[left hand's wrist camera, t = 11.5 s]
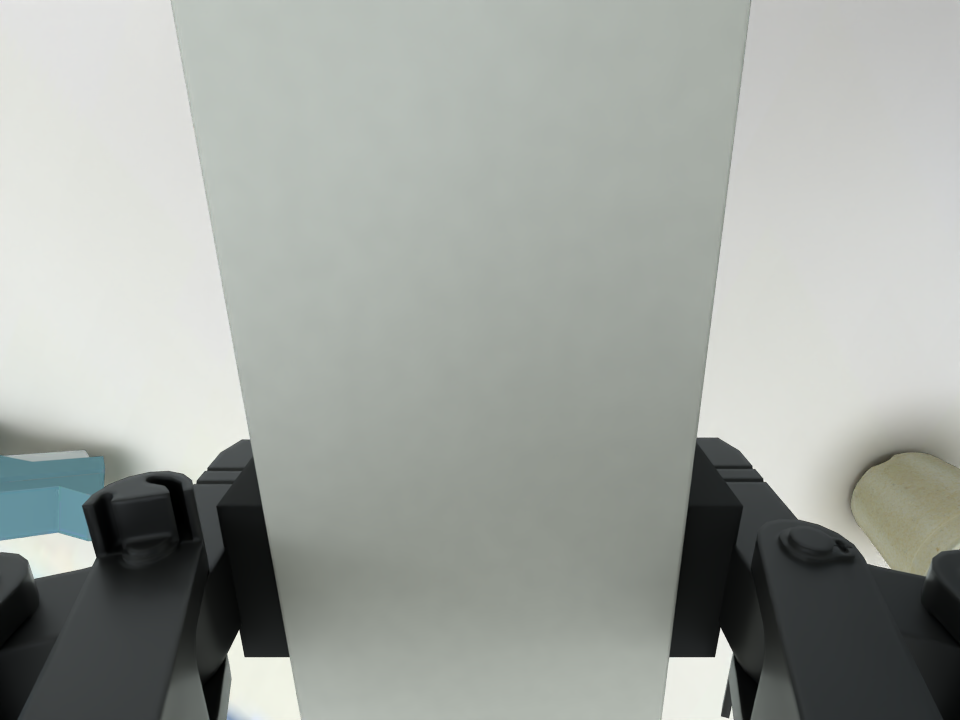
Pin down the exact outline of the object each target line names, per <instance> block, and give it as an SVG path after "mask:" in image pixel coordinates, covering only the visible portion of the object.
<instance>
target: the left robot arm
mask: <svg viewBox="0 0 960 720" xmlns="http://www.w3.org/2000/svg"><path fill="white" fill-rule="evenodd" d="M207 469H208V470H207V471H205V472H204V473H203V474H202V475H201V476H200V478H199V479H198V480H197V484H194V485H193V483H192V480H191V479H190V478H188V477H187V476H186V475H184V474H181V473H176V472H171V471H160V472H148V473H143V474H139V475H134V476H129V477H127V478H124V479H122V480H119V481H116V482H114V483H111V484H109V485H107V486H105V487H104V488H102V489H101V490H99V491H97V492H96V493H94V494H92V495H91V496H90V497H89V499H88V500H87V501H86V502H85V503H84V504H83V505H82V508H83V512H84V515H85V519H86V522H87V526H88V529H89V533H90V536H91V540H92V543H93V547H94V550H95V554H96V557H97V558H96V560H95V562H94V564H93V566H92V567H89V568H85V569H81V570H76V571H71V572H66V573H61V574H56V575H51V576H46V577H41V578H37V579H34V577H33V574H32V571H31V568H30V565H29V563H28V560H26V559H25V558H24V557H22V556H21V555H19V554H14V553H4V552H1V553H0V720H226V719H227V710H228V702H229V694H230V686H231V672H230V666H229V661H228V656H227V653H228V651H229V649H230V647H231V645H232V643H233V641H234V639H235V637H236V635H237V633H238V631H239V630H240V635H241V640H242V646H243V651H244V656H245V657H290V655H289V650H288V644H287V639H286V633H285V628H284V622H283V617H282V611H281V606H280V600H279V595H278V589H277V584H276V578H275V573H274V567H273V562H272V556H271V551H270V545H269V540H268V534H267V529H266V523H265V517H264V512H263V506H262V501H261V495H260V490H259V484H258V479H257V473H256V468H255V462H254V457H253V451H252V446H251V440H241V441H239V442H237V443H236V444H234V445H232V446H231V447H229V448H227V449H226V450H224V451H222V452H221V453H220V454H219V455H218V456H217V457H216V459H215V460H214V461H213V462H212V463H211V465H210V466H209V467H208V468H207ZM720 627H721V629H722V631H723V633H724V635H725V637H726V639H727V641H728V643H729V645H730V647H731V649H732V651H733V656H732V661H731V666H730V671H729V675H728V680H727V685H726V690H725V695H724V700H723V706H722V713H721V716H722V717H726V718H729V716H730V711H731V706H732V709H733V717H734V720H960V550H949V551H941V552H940V553H939V554H937V555H936V556H934V557H933V558H932V561H931V564H930V567H929V570H928V573H927V576H922V575H917V574H912V573H907V572H902V571H897V570H892V569H887V568H882V567H877V566H874V565H870V564H867V563H866V561H865V559H864V557H863V556H862V554H861V553H860V552H859V550H858V549H857V548H856V547H855V545H854V544H852V543H851V542H849V541H848V540H847V539H845V538H844V537H842V536H841V535H840V534H838V533H836V532H834V531H832V530H829V529H827V528H825V527H823V526H820V525H818V524H814V523H810V522H806V521H802V520H798V519H797V518H796V517H795V516H794V514H793V513H792V512H791V511H790V510H789V508H788V507H787V506H786V505H785V504H784V503H783V501H782V500H781V499H780V498H779V497H778V496H777V494H776V493H775V492H774V491H773V490H772V488H771V487H770V486H769V485H768V484H767V483H766V482H763V478H762V477H761V476H760V474H759V473H758V472H757V471H756V470H755V469H753V468H752V465H751V464H750V463H749V461H748V460H747V459H746V458H745V457H744V456H743V454H742V453H741V452H740V451H739V450H737V449H736V448H734V447H732V446H731V445H729V444H727V443H726V442H724V441H722V440H721V439H719V438H696V446H695V454H694V462H693V470H692V478H691V486H690V494H689V502H688V510H687V518H686V526H685V534H684V542H683V550H682V558H681V566H680V574H679V582H678V590H677V598H676V606H675V614H674V622H673V630H672V638H671V646H670V654H669V657H715V654H716V649H717V643H718V638H719V633H720Z"/></svg>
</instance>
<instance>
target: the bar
mask: <svg viewBox="0 0 960 720" xmlns="http://www.w3.org/2000/svg"><path fill="white" fill-rule="evenodd" d="M171 5H172V10H173V16H174V21H175V27H176V32H177V38H178V43H179V49H180V54H181V60H182V65H183V71H184V76H185V82H186V87H187V93H188V98H189V104H190V109H191V115H192V120H193V126H194V131H195V137H196V142H197V148H198V153H199V159H200V164H201V170H202V175H203V181H204V187H205V192H206V198H207V203H208V209H209V214H210V220H211V225H212V231H213V236H214V242H215V247H216V253H217V258H218V264H219V269H220V275H221V280H222V286H223V291H224V297H225V302H226V308H227V313H228V319H229V324H230V330H231V335H232V341H233V346H234V352H235V358H236V363H237V369H238V374H239V380H240V385H241V391H242V396H243V402H244V407H245V413H246V418H247V424H248V429H249V435H250V440H251V446H252V451H253V457H254V462H255V468H256V473H257V479H258V484H259V490H260V495H261V501H262V506H263V512H264V517H265V523H266V529H267V534H268V540H269V545H270V551H271V556H272V562H273V567H274V573H275V578H276V584H277V589H278V595H279V600H280V606H281V611H282V617H283V622H284V628H285V633H286V639H287V644H288V650H289V655H290V661H291V666H292V672H293V677H294V683H295V688H296V694H297V699H298V705H299V711H300V716H301V720H661V718H662V710H663V702H664V694H665V686H666V678H667V670H668V662H669V654H670V646H671V638H672V630H673V622H674V614H675V606H676V598H677V590H678V582H679V574H680V566H681V558H682V550H683V542H684V534H685V526H686V518H687V510H688V502H689V494H690V486H691V478H692V470H693V462H694V454H695V446H696V438H697V430H698V422H699V414H700V406H701V398H702V390H703V382H704V374H705V366H706V358H707V350H708V342H709V334H710V326H711V318H712V310H713V302H714V294H715V286H716V278H717V270H718V262H719V254H720V246H721V238H722V230H723V222H724V214H725V206H726V198H727V190H728V182H729V174H730V166H731V158H732V150H733V142H734V134H735V126H736V118H737V110H738V102H739V94H740V86H741V78H742V70H743V62H744V54H745V46H746V38H747V30H748V22H749V14H750V6H751V0H171Z"/></svg>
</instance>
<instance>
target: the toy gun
mask: <svg viewBox="0 0 960 720" xmlns="http://www.w3.org/2000/svg"><path fill="white" fill-rule="evenodd" d="M104 476H105V465H104V458H103V456H98V457H89V455H88V454H87V452H86V450H77V451H63V452H49V453H35V454H21V455H7V456H1V455H0V541H1V540H8V539H15V538H22V537H29V536H36V535H44V534H51V533H62V534H65V535H69V536H72V537H76V538H79V539H83V540H86V541H92V540H91V536H90V533H89V529H88V526H87V522H86V519H85V515H84V512H83V508H82V505H83V504H84V503H85V502H86V501H87V500H88V499H89V497H90V496H91V495H92V494H94V493H96V492H97V491H99V490H101V489H102V488H104Z"/></svg>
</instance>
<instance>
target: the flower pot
mask: <svg viewBox="0 0 960 720" xmlns="http://www.w3.org/2000/svg"><path fill="white" fill-rule="evenodd" d="M851 510H852V513H853V515H854V518H855V520H856V522H857V524H858V525H859V527H860V528H861V529H862V530H863V531H864V533H865V534H866V535H867V537H868V538H869V539H870V541H871V542H872V543H873V545H874V546H875V547H876V549H877V550H878V551H879V553H880V554H881V555H882V557H883V558H884V560H885V561H886V562H887V564H888V565H889V566H890V568H891V569H892V570H897V571H902V572H907V573H912V574H917V575H922V576H927V573H928V570H929V567H930V564H931V561H932V558H933V557H934V556H936V555H937V554H939V553H940V552H941V551H949V550H960V469H959V468H957V467H955V466H953V465H951V464H949V463H946V462H944V461H942V460H941V459H939V458H937V457H935V456H932V455H930V454H926V453H920V452H907V453H901V454H897V455H894V456H893V457H892V458H891V459H889V460H888V461H886V462H884V463H881V464H879V465H876V466H873V467H871V468H870V469H869V470H868V471H867V472H866V473H865V474H864V475H863V476H862V477H861V479H860V480H859V482H858V483H857V485H856V487H855V489H854V491H853V494H852V498H851Z"/></svg>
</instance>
